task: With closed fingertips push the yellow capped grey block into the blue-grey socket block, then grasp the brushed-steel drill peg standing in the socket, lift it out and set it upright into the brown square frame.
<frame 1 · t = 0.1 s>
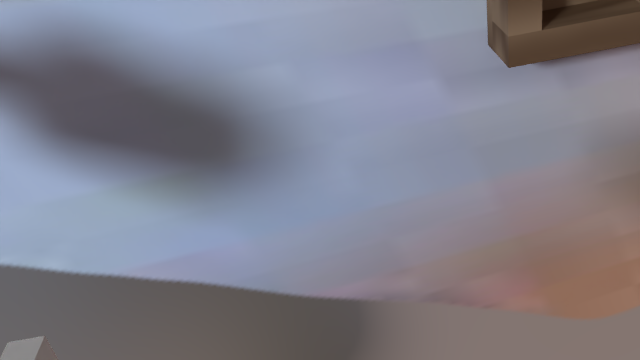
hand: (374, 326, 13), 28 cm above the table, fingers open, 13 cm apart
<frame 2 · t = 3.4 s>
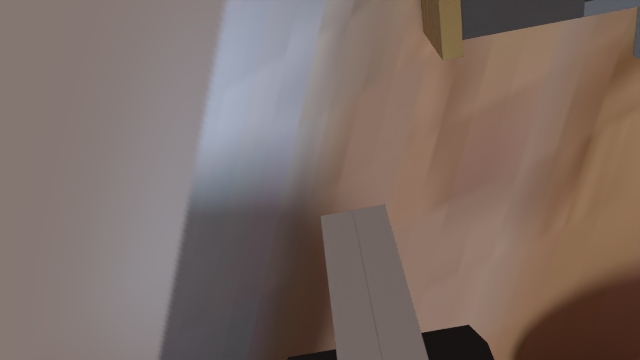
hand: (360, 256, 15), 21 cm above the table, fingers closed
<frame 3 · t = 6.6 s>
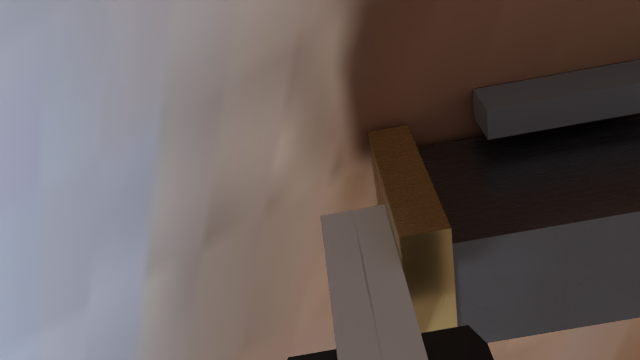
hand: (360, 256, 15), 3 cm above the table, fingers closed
yellow capped grey block: (537, 229, 15), point 3 cm above the table, slide at 1.3 cm, touching gripper
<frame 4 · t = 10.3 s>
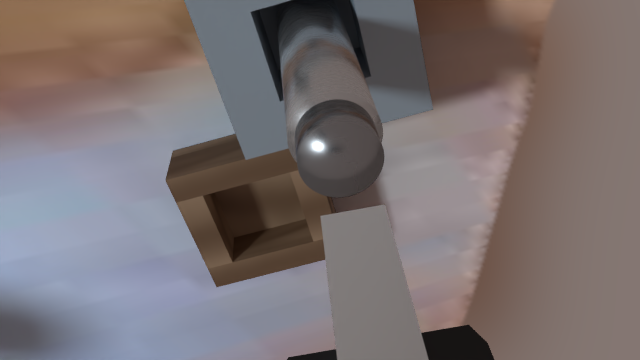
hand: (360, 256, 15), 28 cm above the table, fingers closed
brown square frame: (260, 188, 47), on the table
drill peg: (307, 18, 39), point 1 cm above the table, touching socket block
socket block: (306, 13, 40), on the table
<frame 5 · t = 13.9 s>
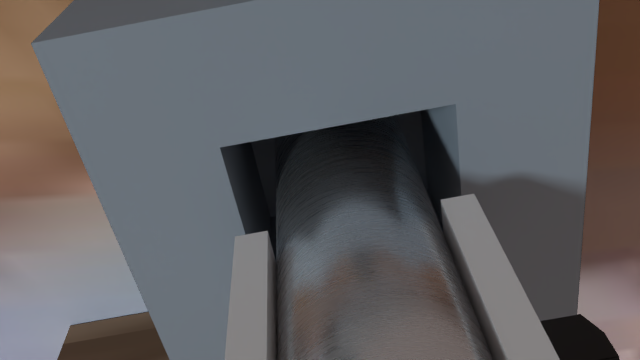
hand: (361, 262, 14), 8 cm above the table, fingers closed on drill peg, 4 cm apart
drill peg: (336, 132, 20), point 1 cm above the table, touching gripper, socket block
socket block: (333, 119, 21), on the table
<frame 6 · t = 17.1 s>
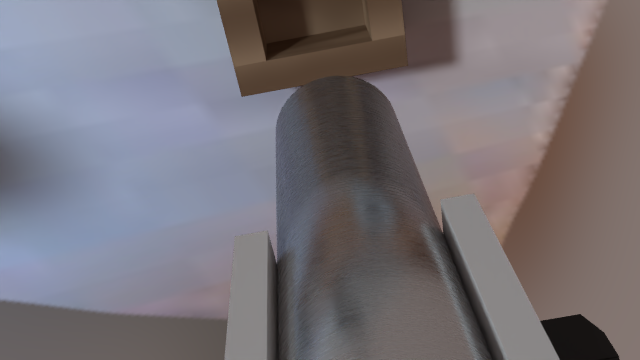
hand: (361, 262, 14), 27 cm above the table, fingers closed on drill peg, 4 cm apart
drill peg: (336, 132, 20), point 20 cm above the table, touching gripper
when the fingers open (9 cm above the table, at t = 20.4 s): drill peg drops 1 cm, resting on brown square frame.
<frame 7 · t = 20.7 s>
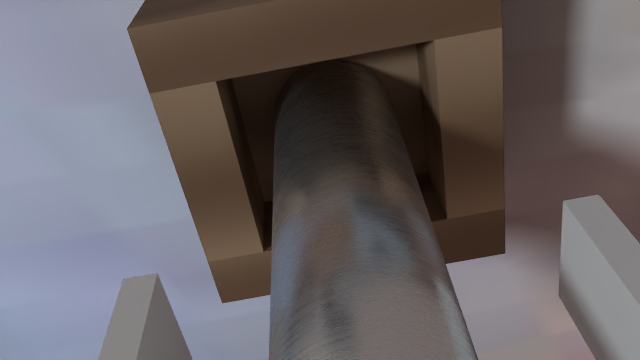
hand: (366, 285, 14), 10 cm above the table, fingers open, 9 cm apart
brown square frame: (330, 101, 22), on the table
drill peg: (333, 113, 21), point 1 cm above the table, touching brown square frame
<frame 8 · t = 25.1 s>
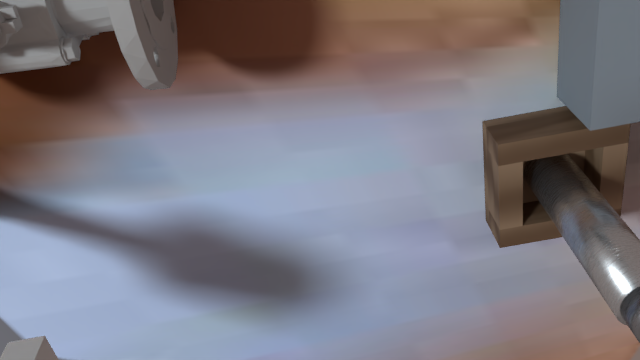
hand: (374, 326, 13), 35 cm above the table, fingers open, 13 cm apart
brown square frame: (542, 162, 52), on the table
drill peg: (547, 168, 51), point 1 cm above the table, touching brown square frame
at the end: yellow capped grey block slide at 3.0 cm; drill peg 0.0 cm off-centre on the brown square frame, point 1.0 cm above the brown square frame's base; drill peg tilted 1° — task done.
